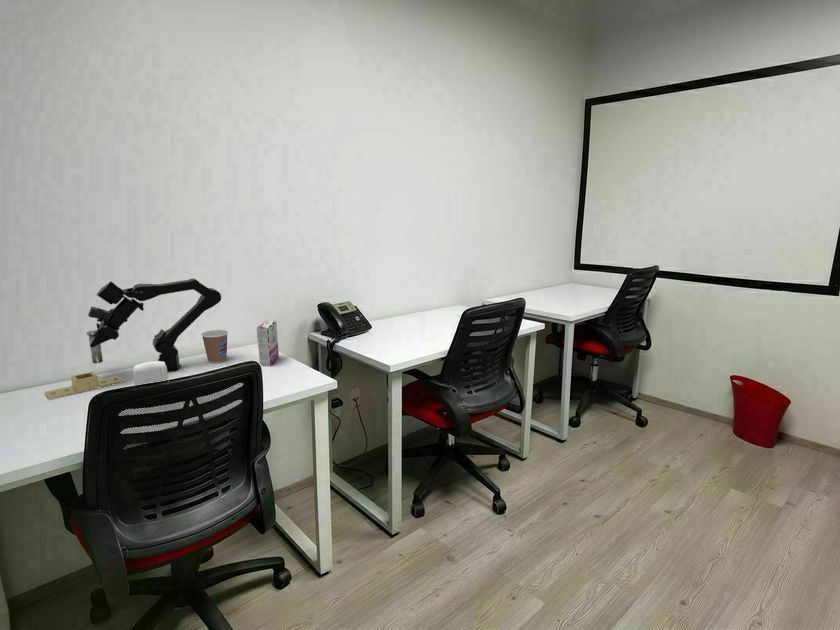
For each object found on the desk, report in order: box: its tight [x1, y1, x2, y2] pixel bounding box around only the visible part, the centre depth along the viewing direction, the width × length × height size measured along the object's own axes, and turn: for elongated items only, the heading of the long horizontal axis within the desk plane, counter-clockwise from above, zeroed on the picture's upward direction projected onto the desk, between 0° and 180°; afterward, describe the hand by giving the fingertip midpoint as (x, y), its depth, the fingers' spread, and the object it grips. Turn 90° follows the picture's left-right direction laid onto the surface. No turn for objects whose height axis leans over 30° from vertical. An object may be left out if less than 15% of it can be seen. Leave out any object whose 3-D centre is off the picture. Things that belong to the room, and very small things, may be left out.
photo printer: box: [132, 360, 169, 385], centre depth 165 cm, size 10×4×12 cm, turn 123°
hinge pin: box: [86, 329, 104, 364], centre depth 177 cm, size 4×4×12 cm
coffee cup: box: [201, 329, 229, 364], centre depth 202 cm, size 10×10×12 cm
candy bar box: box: [256, 320, 280, 367], centre depth 201 cm, size 11×5×16 cm, turn 179°
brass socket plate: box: [44, 371, 125, 401], centre depth 172 cm, size 23×7×4 cm, turn 136°
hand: (90, 345), depth 176 cm, fingers closed on hinge pin, 3 cm apart
